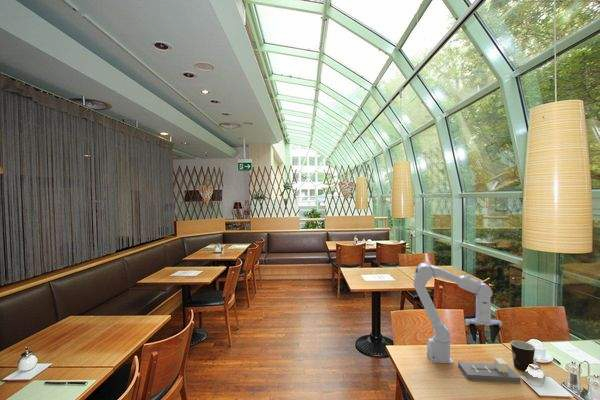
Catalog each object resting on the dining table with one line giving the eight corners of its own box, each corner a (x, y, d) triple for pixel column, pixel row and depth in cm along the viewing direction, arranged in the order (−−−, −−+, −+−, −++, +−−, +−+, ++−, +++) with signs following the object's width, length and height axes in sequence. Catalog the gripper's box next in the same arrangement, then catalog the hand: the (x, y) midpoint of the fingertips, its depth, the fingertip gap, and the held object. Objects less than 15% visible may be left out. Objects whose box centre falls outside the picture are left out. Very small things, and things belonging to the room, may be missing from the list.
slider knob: (499, 372, 125) (499, 363, 125) (494, 366, 130) (493, 357, 130) (507, 372, 125) (507, 363, 125) (501, 366, 129) (501, 358, 129)
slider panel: (467, 379, 124) (467, 374, 124) (458, 366, 134) (458, 361, 134) (520, 382, 122) (520, 377, 122) (506, 369, 132) (506, 364, 132)
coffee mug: (535, 376, 126) (535, 351, 126) (510, 369, 131) (510, 346, 132) (535, 364, 135) (534, 341, 136) (511, 358, 141) (511, 336, 141)
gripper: (469, 313, 133) (470, 344, 132) (505, 314, 131) (505, 346, 131) (463, 307, 140) (463, 337, 139) (496, 308, 138) (497, 338, 138)
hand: (483, 341), depth 136 cm, fingers open, 7 cm apart
